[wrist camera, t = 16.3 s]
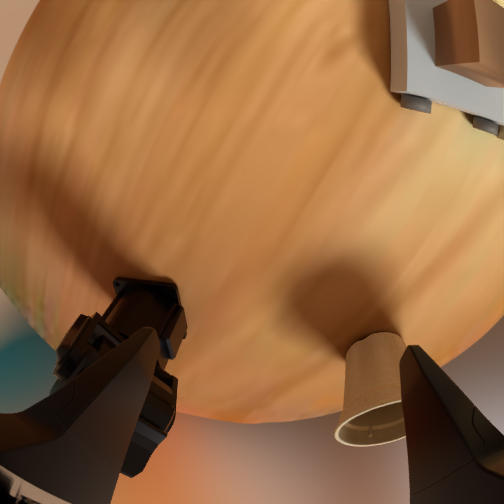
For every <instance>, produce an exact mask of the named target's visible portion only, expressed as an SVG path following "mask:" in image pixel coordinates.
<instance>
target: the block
mask: <svg viewBox="0 0 504 504" xmlns="http://www.w3.org/2000/svg"><path fill="white" fill-rule="evenodd" d="M433 17H434V31H435V66H436V67H439V68H442V69H444V70H447V71H450V72H453V73H455V74H458V75H460V76H463V77H465V78H468V79H470V80H473V81H475V82H477V83H479V84H482V85H484V86H486V87H497V88H504V8H503V7H501V6H500V5H498V4H496V3H495V2H493V1H491V0H448V1H446V2H444V3H442V4H440V5H438V6H436V7H434V8H433Z"/></svg>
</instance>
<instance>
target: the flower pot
mask: <svg viewBox="0 0 504 504" xmlns="http://www.w3.org/2000/svg"><path fill="white" fill-rule="evenodd" d="M406 348H407V347H406V345H405V342H404V341H403V340H402V338H401V337H400V336H398V335H397V334H394V333H390V332H379V333H374V334H371V335H369V336H368V337H367V338H365V339H363V340H361V341H357V342H355V343H354V344H353V345H352V346H351V347H350V349H349V350H348V352H347V354H346V369H345V389H344V403H343V411H342V413H341V415H340V419H339V424H338V425H337V427H336V428H335V432H334V436H335V438H336V440H337V441H339V442H341V443H343V444H346V445H350V446H374V445H380V444H384V443H389V442H393V441H396V440H399V439H402V438H404V437H406V433H405V424H404V417H403V410H402V402H401V385H400V370H399V362H400V359H401V357H402V355H403V353H404V351H405V349H406Z"/></svg>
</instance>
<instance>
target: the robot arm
mask: <svg viewBox="0 0 504 504" xmlns="http://www.w3.org/2000/svg"><path fill="white" fill-rule="evenodd" d="M113 285H114V288H115V291H116V294H117V296H116V297H115V299H114V300H113V301H112V303H111V304H110V306H109V307H108V308H107V310H106V311H105V313H104V314H103V315H102V316H101V315H100V314H98V313H97V312H96V313H95V314H94V315H93V316H92V317H89V316H85V315H82V314H81V315H80V316H79V317H78V318H77V320H76V321H75V322H74V324H73V325H72V326H71V328H70V329H69V330H68V332H67V333H66V335H65V337H64V338H63V340H62V341H61V343H60V345H59V346H58V348H57V350H56V353H57V362H56V367H55V369H54V372H53V375H55V376H56V377H57V378H58V379H57V380H56V382H55V383H54V385H53V386H52V388H51V390H50V394H49V396H48V397H46V398H44V399H43V400H41V401H39V402H38V403H36V404H34V405H33V406H31V407H29V408H28V409H26V410H24V411H21V412H18V413H12V414H2V413H0V504H110V503H111V500H112V496H113V493H114V490H115V486H116V483H117V480H118V477H119V473H122V474H124V475H126V476H128V477H130V478H132V477H134V476H136V475H137V474H139V473H140V472H142V471H143V469H144V468H145V466H146V463H147V462H148V460H149V458H150V456H151V455H152V453H153V451H154V450H155V449H156V448H157V446H158V445H159V444H160V443H161V442H162V441H163V440H164V439H165V438H166V437H167V433H168V432H169V430H170V429H171V427H172V425H173V423H174V420H175V415H176V414H175V413H176V400H177V385H178V379H177V378H176V377H174V376H173V375H172V376H171V375H170V374H169V373H167V372H166V371H165V367H166V365H167V362H168V360H169V359H171V360H173V359H174V358H175V357H176V354H177V352H178V349H179V347H180V344H181V342H182V339H185V338H186V335H187V332H186V329H187V323H186V318H185V313H184V308H183V307H182V306H181V302H180V297H179V291H178V288H177V286H176V285H175V284H171V283H162V282H153V281H144V280H136V279H127V278H119V277H117V278H115V279H114V281H113ZM171 289H173V290H171ZM399 370H400V385H401V402H402V410H403V417H404V424H405V433H406V441H407V452H408V464H409V483H410V504H504V435H503V434H502V433H501V432H500V431H499V430H498V429H497V428H496V427H495V426H493V425H492V423H491V422H490V421H489V420H488V419H487V418H486V417H485V416H484V415H483V414H482V413H481V412H480V411H479V410H478V408H477V407H476V406H474V404H473V403H472V402H471V400H470V399H469V398H468V397H467V396H466V395H465V394H464V393H463V392H462V390H460V389H459V387H458V386H457V385H456V384H455V383H454V382H453V381H452V380H451V378H450V377H449V376H448V375H447V374H446V373H445V372H444V371H443V370H442V369H441V368H440V367H439V366H438V365H437V364H436V363H435V361H434V360H433V359H432V358H431V357H430V356H429V355H428V354H427V353H426V352H425V351H424V350H423V349H422V348H421V347H420V346H419V345H408V346H407V348H406V349H405V351H404V353H403V355H402V357H401V359H400V362H399Z"/></svg>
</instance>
